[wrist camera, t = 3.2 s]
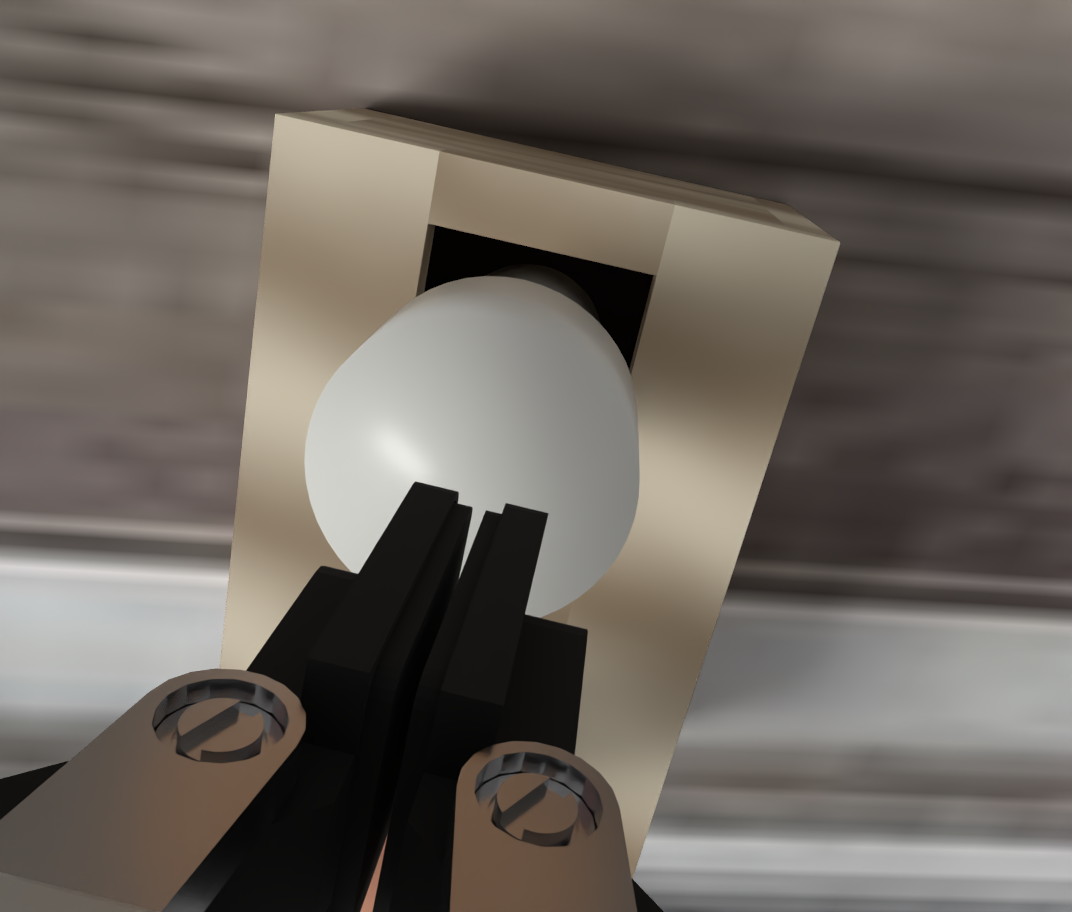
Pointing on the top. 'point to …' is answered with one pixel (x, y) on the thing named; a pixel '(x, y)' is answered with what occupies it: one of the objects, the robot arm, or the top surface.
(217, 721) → the robot arm
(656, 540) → the button box
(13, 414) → the top surface
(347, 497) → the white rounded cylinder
